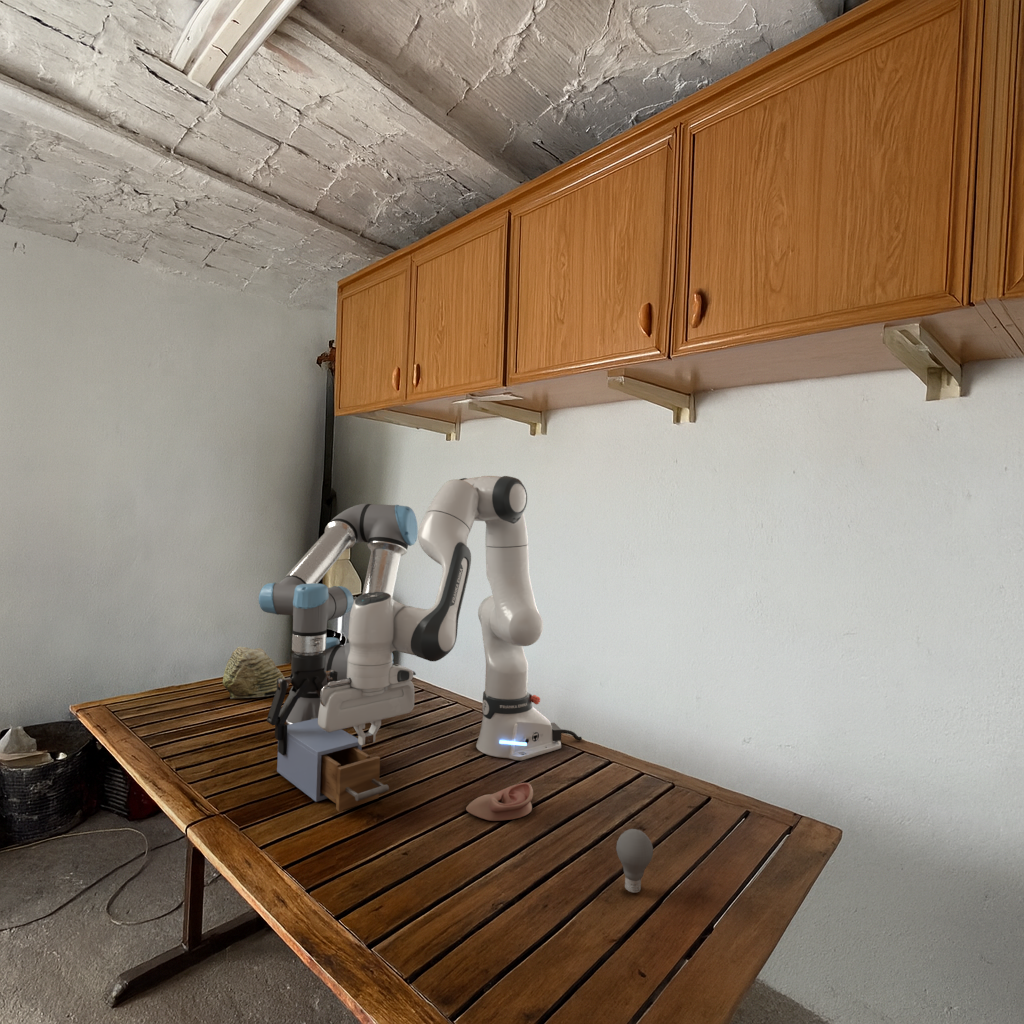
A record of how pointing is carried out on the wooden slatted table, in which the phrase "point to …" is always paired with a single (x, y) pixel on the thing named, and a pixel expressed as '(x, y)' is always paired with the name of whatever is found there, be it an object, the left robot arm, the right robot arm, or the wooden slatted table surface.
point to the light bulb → (634, 857)
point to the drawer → (350, 778)
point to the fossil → (251, 674)
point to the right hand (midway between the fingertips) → (366, 743)
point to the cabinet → (310, 754)
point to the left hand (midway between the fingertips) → (305, 747)
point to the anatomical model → (503, 803)
